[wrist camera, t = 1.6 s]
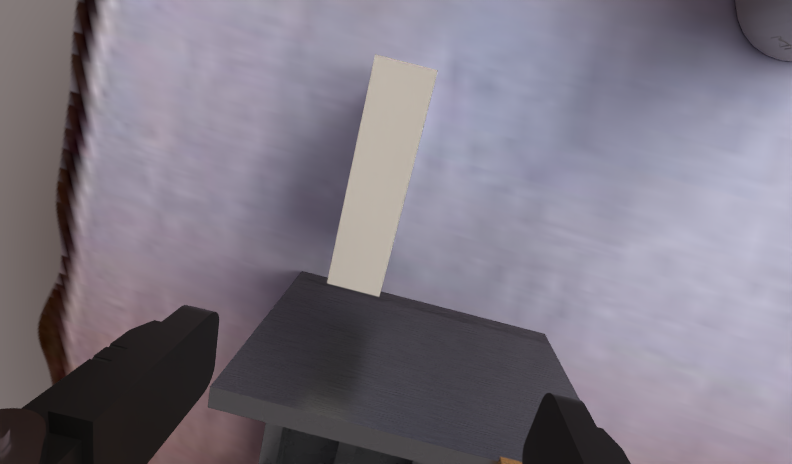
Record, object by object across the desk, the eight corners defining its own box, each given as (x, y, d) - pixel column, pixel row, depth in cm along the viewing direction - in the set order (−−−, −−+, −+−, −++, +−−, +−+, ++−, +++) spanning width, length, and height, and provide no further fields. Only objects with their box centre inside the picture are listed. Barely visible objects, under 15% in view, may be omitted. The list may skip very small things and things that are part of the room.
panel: (391, 73, 27) (375, 54, 18) (434, 84, 27) (437, 70, 18) (355, 235, 31) (326, 283, 22) (392, 245, 31) (379, 296, 22)
